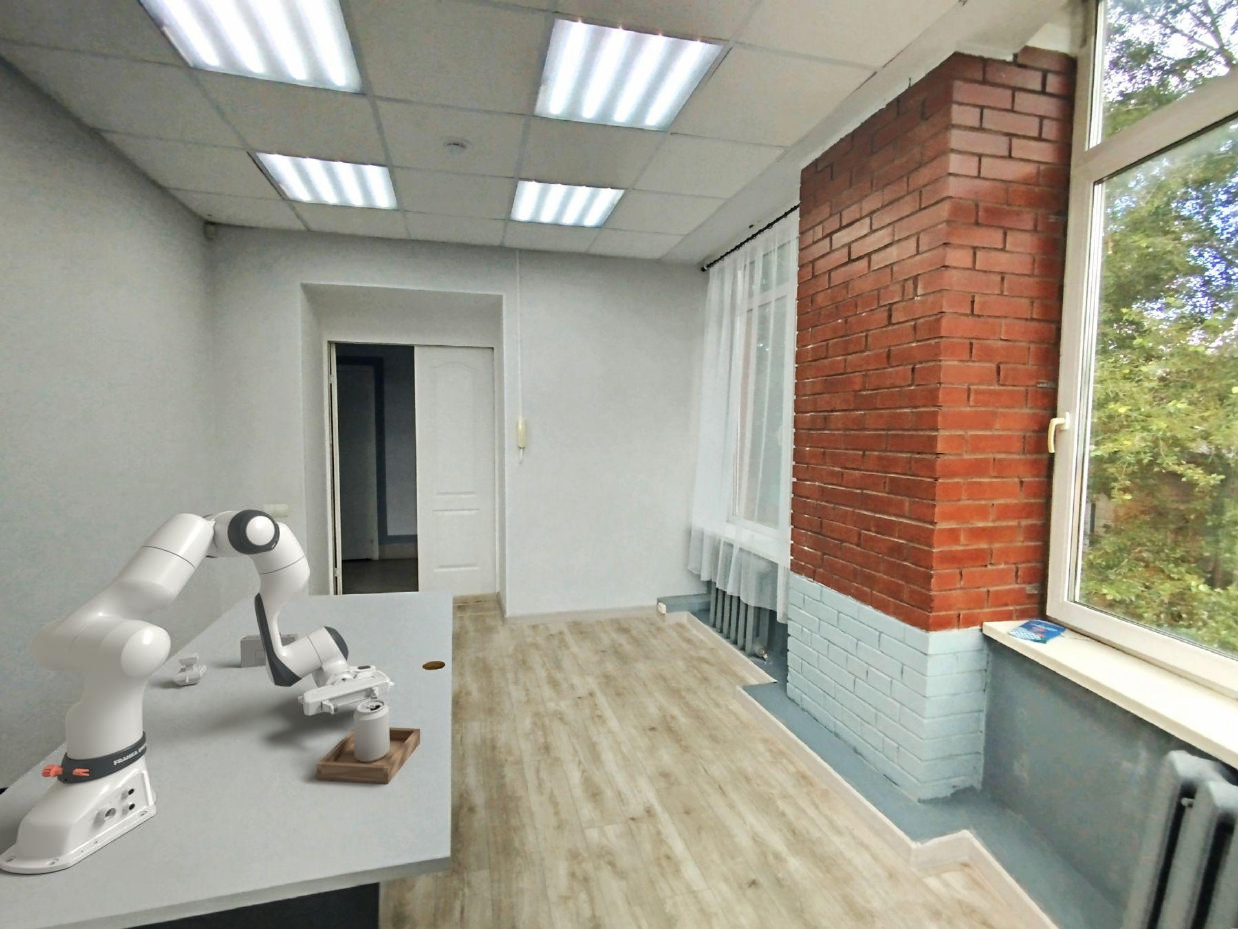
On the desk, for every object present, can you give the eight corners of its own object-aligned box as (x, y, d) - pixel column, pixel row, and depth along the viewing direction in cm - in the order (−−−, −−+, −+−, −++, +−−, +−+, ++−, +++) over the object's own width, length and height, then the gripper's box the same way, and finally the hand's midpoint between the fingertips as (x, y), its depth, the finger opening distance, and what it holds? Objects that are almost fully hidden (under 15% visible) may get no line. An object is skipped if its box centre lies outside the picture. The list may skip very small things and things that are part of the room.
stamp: (200, 687, 165) (199, 659, 165) (172, 691, 163) (171, 662, 162) (208, 674, 174) (207, 648, 173) (181, 678, 171) (180, 651, 170)
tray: (388, 783, 121) (387, 768, 121) (317, 779, 122) (316, 764, 122) (420, 742, 137) (420, 729, 137) (357, 739, 138) (356, 725, 138)
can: (377, 766, 125) (376, 714, 125) (347, 762, 127) (346, 711, 126) (396, 748, 133) (395, 698, 132) (367, 744, 134) (366, 695, 133)
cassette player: (298, 660, 185) (297, 630, 185) (295, 663, 183) (294, 633, 182) (244, 664, 181) (243, 634, 181) (241, 668, 179) (240, 637, 178)
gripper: (295, 684, 142) (308, 705, 131) (379, 663, 155) (397, 680, 144) (296, 709, 142) (308, 731, 132) (380, 685, 155) (397, 704, 145)
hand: (355, 704), depth 138 cm, fingers open, 8 cm apart
